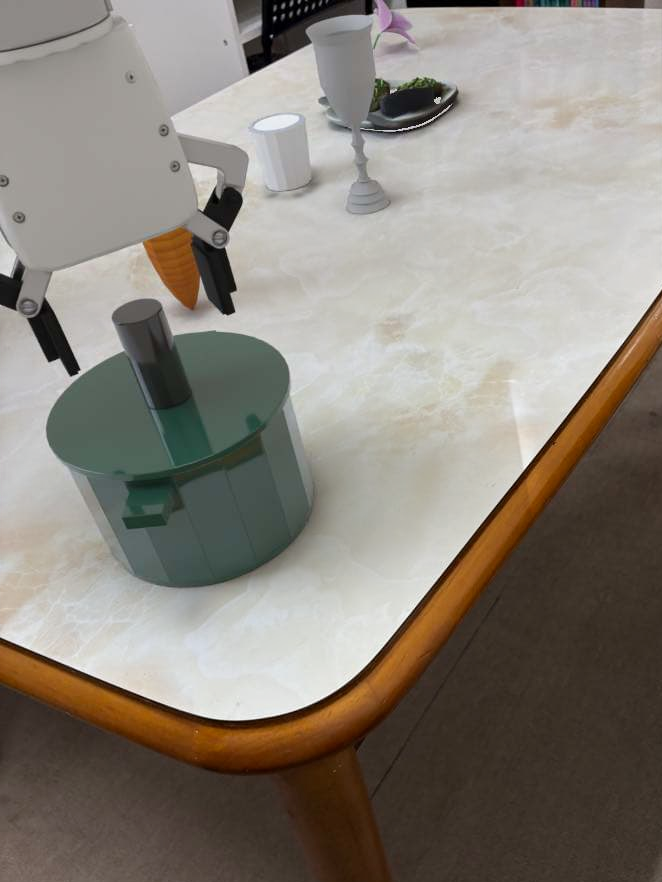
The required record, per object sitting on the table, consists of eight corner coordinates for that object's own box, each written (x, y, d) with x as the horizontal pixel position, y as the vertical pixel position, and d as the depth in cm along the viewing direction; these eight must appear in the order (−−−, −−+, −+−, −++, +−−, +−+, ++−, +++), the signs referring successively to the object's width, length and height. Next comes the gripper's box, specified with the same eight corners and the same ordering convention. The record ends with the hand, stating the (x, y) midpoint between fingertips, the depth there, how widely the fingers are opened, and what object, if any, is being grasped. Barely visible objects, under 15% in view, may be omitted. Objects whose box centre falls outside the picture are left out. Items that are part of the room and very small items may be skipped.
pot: (77, 628, 54) (11, 518, 48) (143, 438, 69) (100, 334, 62) (302, 607, 53) (266, 492, 47) (321, 418, 68) (296, 311, 61)
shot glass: (276, 170, 109) (263, 111, 104) (325, 170, 106) (314, 110, 102) (252, 192, 104) (237, 132, 99) (302, 193, 102) (289, 132, 97)
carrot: (211, 291, 86) (164, 137, 76) (221, 312, 83) (173, 153, 72) (163, 305, 85) (109, 151, 75) (171, 327, 82) (115, 168, 72)
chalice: (351, 190, 101) (322, 16, 88) (405, 191, 99) (383, 12, 86) (328, 217, 96) (294, 38, 83) (385, 218, 94) (358, 34, 81)
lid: (19, 502, 50) (-39, 401, 45) (88, 358, 61) (48, 265, 56) (281, 474, 49) (250, 368, 44) (302, 333, 60) (279, 236, 55)
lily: (413, 69, 136) (431, 1, 132) (341, 45, 134) (358, -25, 130) (413, 74, 147) (430, 11, 143) (347, 51, 145) (362, -13, 141)
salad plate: (289, 132, 118) (281, 97, 115) (357, 89, 129) (352, 55, 126) (409, 141, 110) (405, 103, 107) (472, 94, 120) (469, 58, 117)
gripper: (171, -43, 44) (255, 266, 56) (-178, 45, 39) (-7, 364, 51) (223, -29, 39) (303, 307, 51) (-170, 74, 34) (18, 420, 46)
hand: (148, 335), depth 51 cm, fingers open, 9 cm apart
